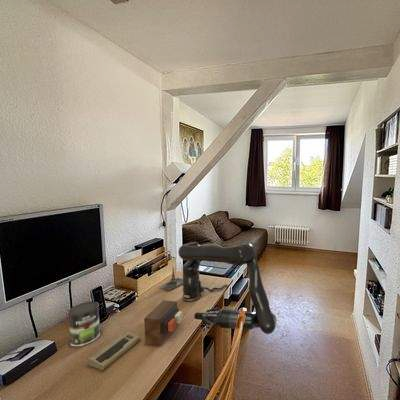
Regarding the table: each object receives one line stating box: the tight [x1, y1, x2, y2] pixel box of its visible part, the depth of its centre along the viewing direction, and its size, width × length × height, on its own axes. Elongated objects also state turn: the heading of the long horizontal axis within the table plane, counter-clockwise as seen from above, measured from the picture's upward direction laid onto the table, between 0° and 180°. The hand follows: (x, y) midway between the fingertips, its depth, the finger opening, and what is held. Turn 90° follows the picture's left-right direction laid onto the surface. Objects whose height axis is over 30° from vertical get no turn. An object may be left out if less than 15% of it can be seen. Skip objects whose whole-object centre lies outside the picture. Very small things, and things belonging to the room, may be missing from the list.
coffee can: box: [67, 301, 101, 347], centre depth 96 cm, size 10×10×14 cm
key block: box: [143, 299, 180, 347], centre depth 99 cm, size 9×14×12 cm, turn 173°
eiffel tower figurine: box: [158, 266, 183, 291], centre depth 146 cm, size 15×10×13 cm
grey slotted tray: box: [87, 331, 140, 371], centre depth 89 cm, size 16×8×3 cm, turn 163°
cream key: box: [174, 310, 184, 324], centre depth 101 cm, size 2×4×4 cm, turn 173°
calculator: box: [90, 300, 126, 316], centre depth 120 cm, size 11×4×15 cm
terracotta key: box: [168, 318, 178, 333], centre depth 96 cm, size 2×4×4 cm, turn 173°
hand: (195, 315), depth 100 cm, fingers closed
